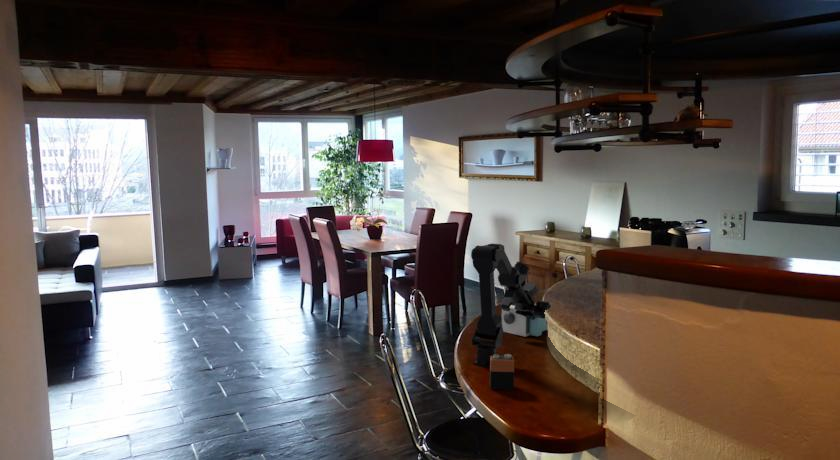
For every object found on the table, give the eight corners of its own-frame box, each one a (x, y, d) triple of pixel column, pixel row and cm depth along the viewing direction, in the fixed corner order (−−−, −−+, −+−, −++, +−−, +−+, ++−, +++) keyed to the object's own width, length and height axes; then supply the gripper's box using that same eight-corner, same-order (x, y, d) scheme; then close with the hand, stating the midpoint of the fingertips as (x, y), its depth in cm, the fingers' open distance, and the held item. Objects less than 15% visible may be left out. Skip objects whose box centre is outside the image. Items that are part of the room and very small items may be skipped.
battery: (513, 390, 178) (514, 357, 176) (490, 390, 178) (491, 357, 177) (512, 385, 182) (513, 352, 181) (489, 384, 182) (490, 352, 181)
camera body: (523, 337, 231) (524, 311, 230) (499, 331, 238) (500, 306, 237) (545, 329, 242) (545, 304, 241) (521, 324, 249) (522, 300, 248)
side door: (537, 336, 231) (538, 313, 230) (529, 334, 233) (530, 311, 232) (552, 330, 239) (553, 308, 238) (544, 328, 241) (545, 306, 240)
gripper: (548, 280, 219) (563, 305, 228) (505, 273, 231) (521, 297, 241) (536, 305, 214) (551, 330, 223) (493, 297, 227) (509, 320, 236)
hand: (533, 318), depth 231 cm, fingers closed, pressing on side door
